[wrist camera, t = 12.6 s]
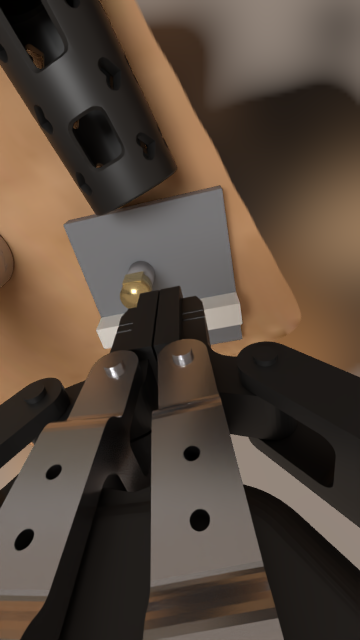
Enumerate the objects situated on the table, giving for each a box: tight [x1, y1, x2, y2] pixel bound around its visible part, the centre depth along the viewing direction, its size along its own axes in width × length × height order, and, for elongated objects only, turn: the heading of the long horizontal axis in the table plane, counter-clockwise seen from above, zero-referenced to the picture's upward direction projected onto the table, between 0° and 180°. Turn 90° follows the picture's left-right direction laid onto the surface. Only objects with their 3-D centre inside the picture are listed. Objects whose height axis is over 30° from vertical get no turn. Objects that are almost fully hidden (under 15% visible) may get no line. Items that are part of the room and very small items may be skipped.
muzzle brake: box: [0, 0, 177, 216], centre depth 23 cm, size 10×28×10 cm, turn 27°
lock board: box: [64, 186, 243, 349], centre depth 37 cm, size 18×20×8 cm
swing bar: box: [120, 271, 152, 309], centre depth 36 cm, size 13×3×3 cm, turn 11°
